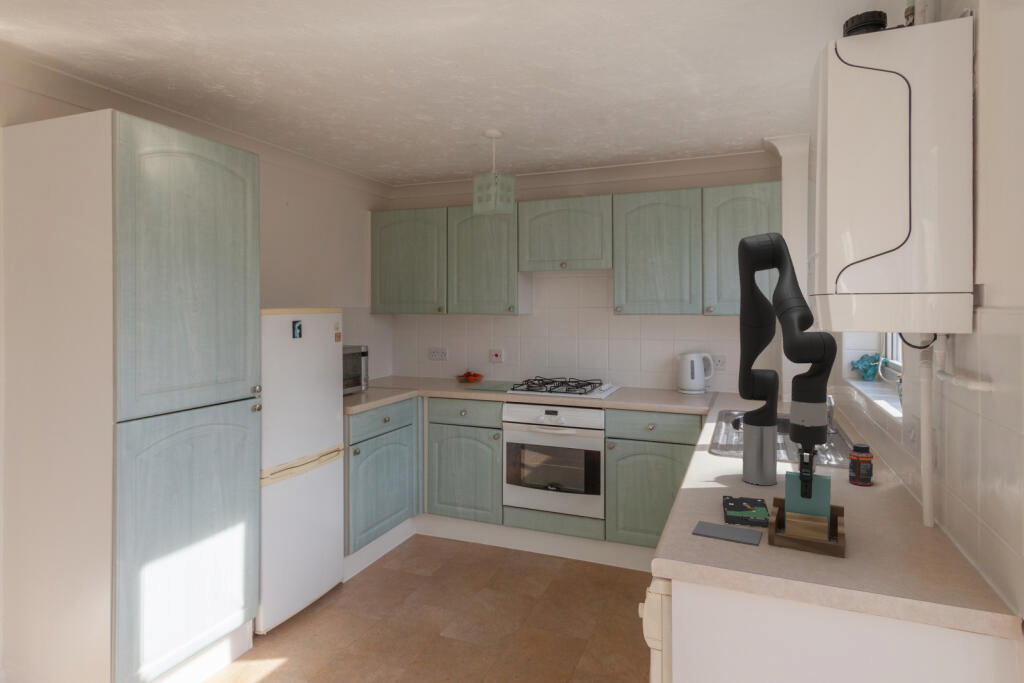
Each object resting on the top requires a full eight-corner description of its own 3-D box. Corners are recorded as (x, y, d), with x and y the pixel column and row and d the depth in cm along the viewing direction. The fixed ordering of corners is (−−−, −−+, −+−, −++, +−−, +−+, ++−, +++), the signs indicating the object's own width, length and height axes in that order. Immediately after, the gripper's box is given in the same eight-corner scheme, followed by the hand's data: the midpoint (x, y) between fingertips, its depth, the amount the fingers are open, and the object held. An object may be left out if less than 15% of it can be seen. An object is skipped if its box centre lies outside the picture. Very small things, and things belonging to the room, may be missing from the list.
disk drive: (721, 505, 151) (725, 525, 137) (721, 495, 151) (725, 513, 137) (764, 509, 148) (772, 530, 134) (764, 498, 148) (772, 518, 134)
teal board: (785, 530, 133) (786, 471, 132) (829, 537, 128) (830, 476, 127) (784, 534, 131) (785, 473, 130) (829, 541, 126) (830, 479, 125)
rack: (773, 525, 136) (773, 496, 135) (843, 536, 128) (844, 506, 128) (768, 544, 125) (768, 512, 125) (844, 557, 118) (844, 524, 118)
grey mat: (699, 522, 138) (699, 520, 138) (762, 533, 131) (762, 531, 131) (692, 534, 131) (692, 532, 131) (758, 546, 124) (758, 544, 124)
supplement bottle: (877, 485, 164) (878, 446, 163) (861, 487, 162) (862, 448, 162) (859, 479, 170) (860, 441, 169) (843, 481, 168) (844, 443, 167)
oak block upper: (786, 524, 129) (786, 511, 129) (826, 530, 126) (826, 517, 125) (785, 532, 125) (785, 519, 124) (827, 539, 121) (827, 525, 121)
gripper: (791, 414, 136) (790, 481, 137) (787, 425, 123) (786, 499, 124) (828, 417, 132) (826, 486, 133) (827, 428, 120) (825, 504, 121)
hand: (807, 492), depth 129 cm, fingers open, 8 cm apart
